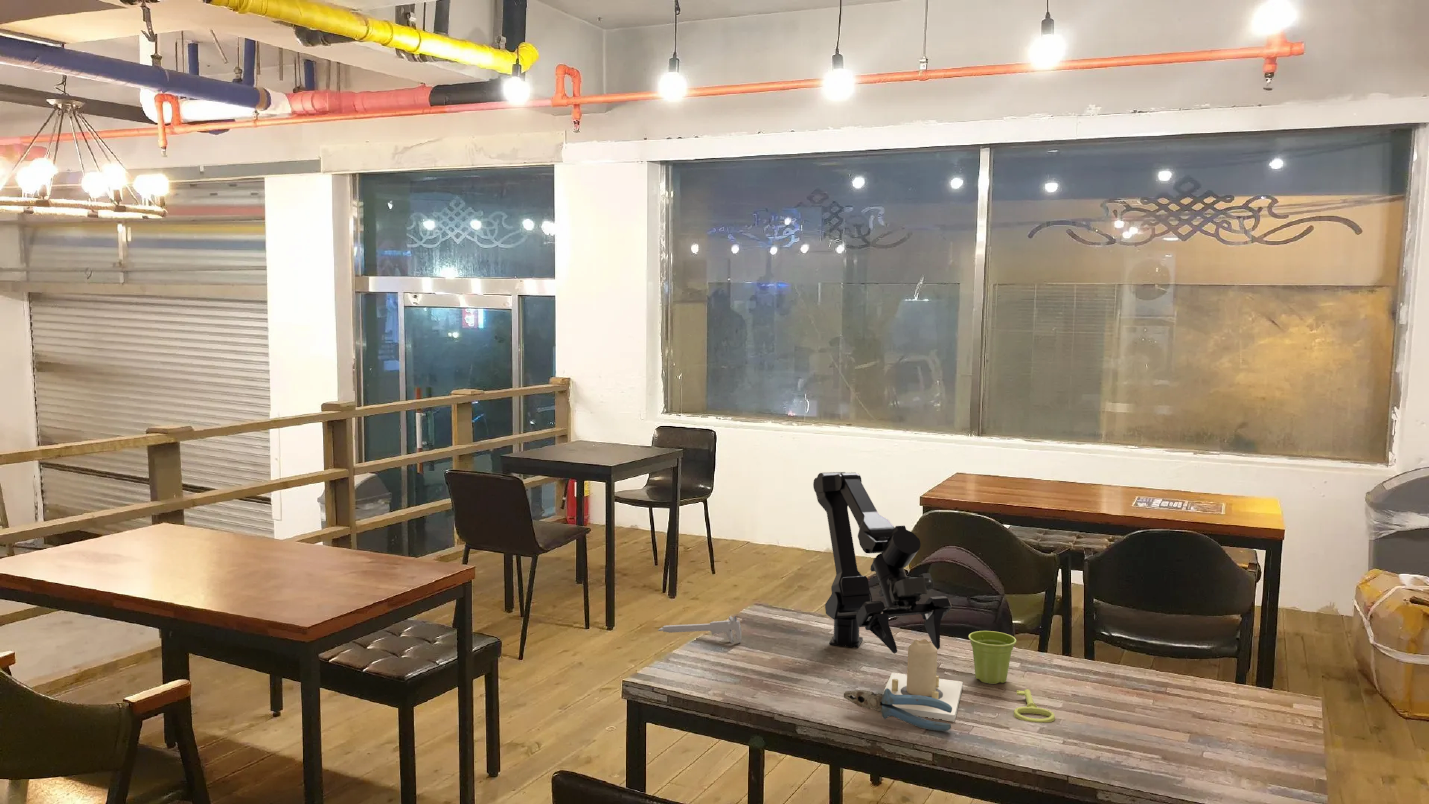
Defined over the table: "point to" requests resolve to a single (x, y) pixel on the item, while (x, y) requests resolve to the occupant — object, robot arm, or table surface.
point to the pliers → (887, 709)
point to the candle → (921, 668)
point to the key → (1032, 709)
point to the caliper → (710, 628)
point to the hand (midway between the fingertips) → (917, 650)
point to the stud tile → (944, 692)
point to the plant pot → (991, 655)
